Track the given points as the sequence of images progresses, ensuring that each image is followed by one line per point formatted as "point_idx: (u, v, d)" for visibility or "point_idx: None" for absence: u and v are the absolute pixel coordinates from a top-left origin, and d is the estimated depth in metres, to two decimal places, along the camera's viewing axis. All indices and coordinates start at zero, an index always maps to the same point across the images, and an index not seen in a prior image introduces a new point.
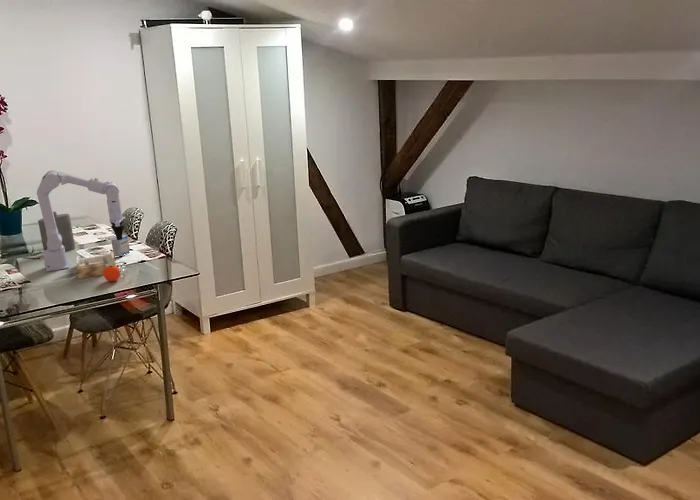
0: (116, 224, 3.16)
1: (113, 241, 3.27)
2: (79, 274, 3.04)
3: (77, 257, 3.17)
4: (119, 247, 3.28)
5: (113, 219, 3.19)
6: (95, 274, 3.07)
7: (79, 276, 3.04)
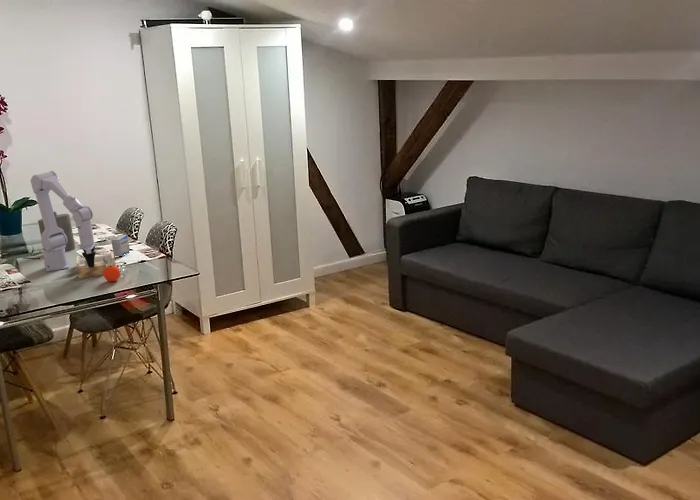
0: (87, 251, 2.97)
1: (113, 241, 3.27)
2: (79, 274, 3.04)
3: (77, 257, 3.17)
4: (119, 247, 3.28)
5: (84, 245, 3.01)
6: (95, 274, 3.07)
7: (79, 276, 3.04)
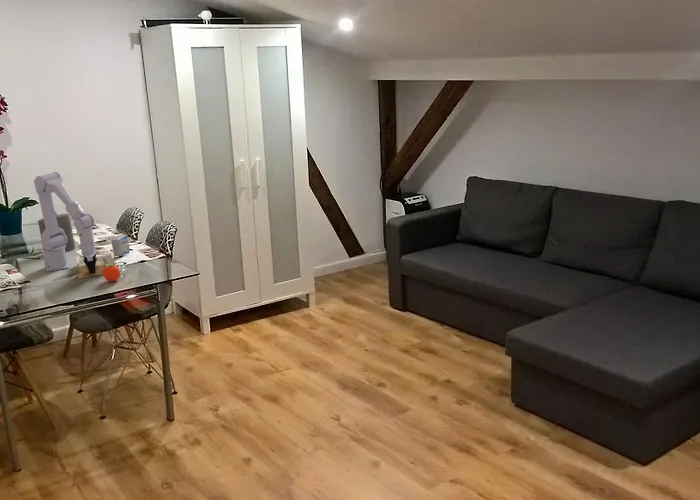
0: (88, 258, 2.98)
1: (113, 241, 3.27)
2: (79, 274, 3.04)
3: (77, 257, 3.17)
4: (119, 247, 3.28)
5: (85, 253, 3.02)
6: (95, 274, 3.07)
7: (79, 276, 3.04)
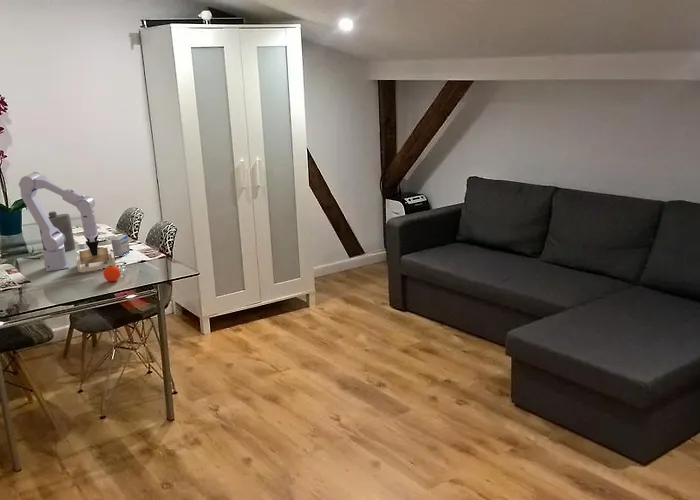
0: (90, 239, 3.07)
1: (113, 241, 3.27)
2: (82, 261, 3.12)
3: (77, 257, 3.17)
4: (119, 247, 3.28)
5: (88, 234, 3.11)
6: (97, 261, 3.15)
7: (82, 262, 3.13)
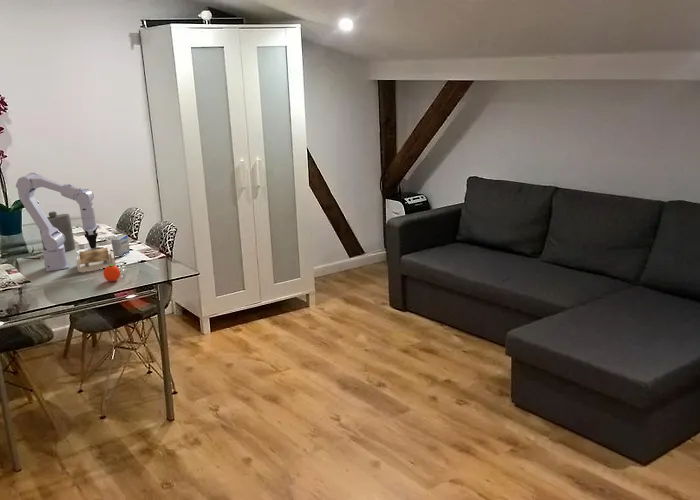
0: (89, 232, 3.06)
1: (113, 241, 3.27)
2: (81, 259, 3.13)
3: (77, 257, 3.17)
4: (119, 247, 3.28)
5: (86, 227, 3.10)
6: (97, 259, 3.15)
7: (81, 261, 3.13)
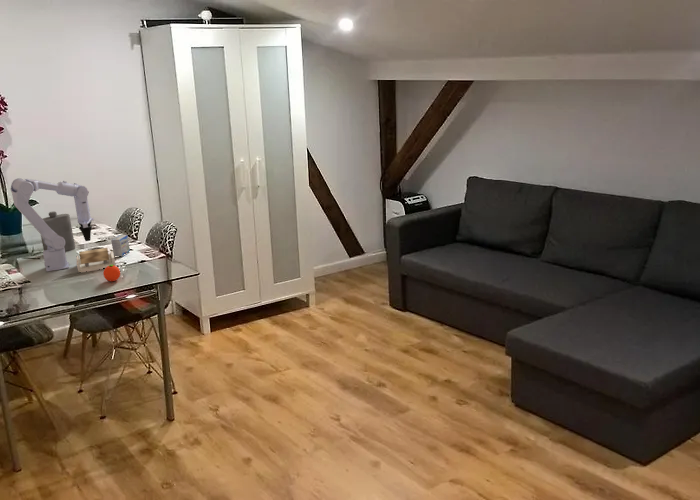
0: (84, 225, 3.17)
1: (113, 241, 3.27)
2: (81, 259, 3.13)
3: (77, 257, 3.17)
4: (119, 247, 3.28)
5: (81, 220, 3.20)
6: (97, 259, 3.15)
7: (81, 261, 3.13)
